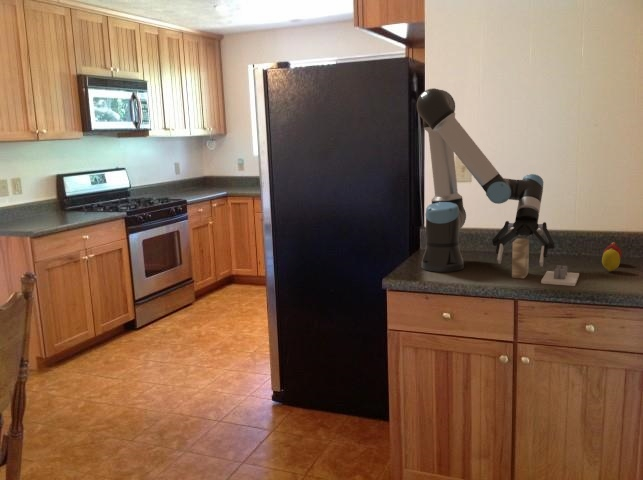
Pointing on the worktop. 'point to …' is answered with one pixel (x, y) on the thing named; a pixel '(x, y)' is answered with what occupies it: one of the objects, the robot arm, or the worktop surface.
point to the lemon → (611, 259)
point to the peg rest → (560, 276)
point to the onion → (614, 248)
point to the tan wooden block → (520, 258)
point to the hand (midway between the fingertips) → (519, 263)
